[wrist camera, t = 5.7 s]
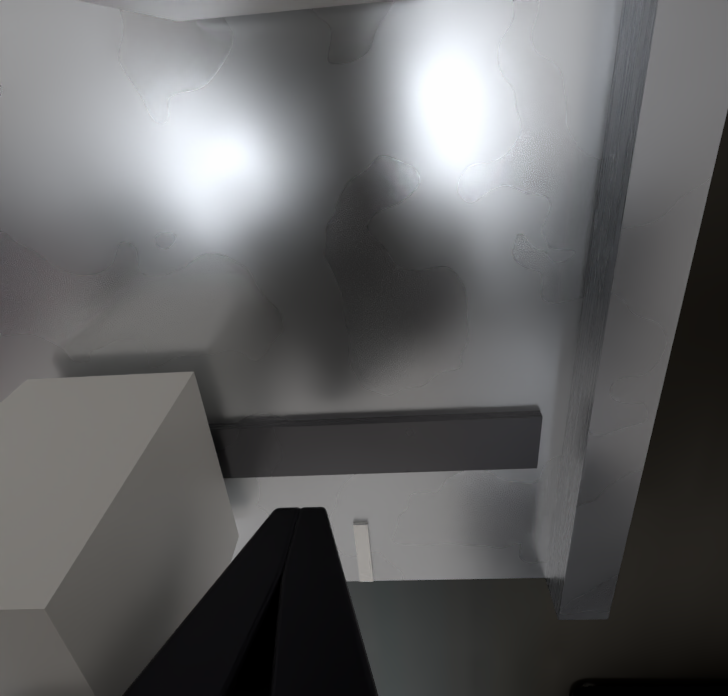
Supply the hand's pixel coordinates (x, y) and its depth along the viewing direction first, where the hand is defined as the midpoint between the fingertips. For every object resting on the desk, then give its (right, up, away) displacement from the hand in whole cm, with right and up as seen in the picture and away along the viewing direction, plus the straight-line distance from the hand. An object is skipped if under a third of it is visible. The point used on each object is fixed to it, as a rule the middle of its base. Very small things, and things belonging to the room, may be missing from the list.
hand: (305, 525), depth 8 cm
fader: (-3, +1, +2) cm, 4 cm away
